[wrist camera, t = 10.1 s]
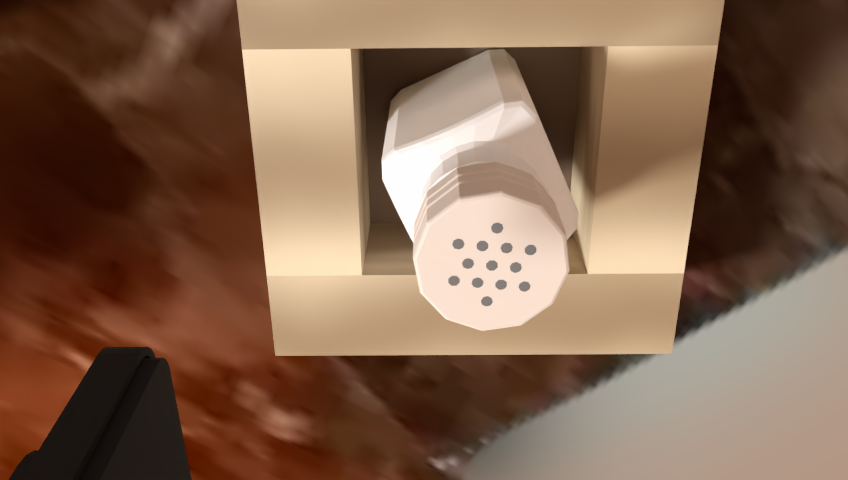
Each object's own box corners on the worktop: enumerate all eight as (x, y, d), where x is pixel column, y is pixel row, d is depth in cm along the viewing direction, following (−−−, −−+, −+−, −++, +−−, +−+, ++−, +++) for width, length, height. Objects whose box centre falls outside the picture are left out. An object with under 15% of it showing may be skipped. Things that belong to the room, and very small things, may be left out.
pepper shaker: (438, 202, 26) (442, 374, 17) (384, 92, 24) (359, 221, 16) (553, 153, 25) (618, 307, 16) (505, 36, 23) (549, 140, 15)
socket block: (264, -80, 23) (229, -67, 19) (680, -85, 23) (735, -72, 19) (297, 283, 28) (275, 355, 24) (636, 281, 28) (671, 353, 24)
